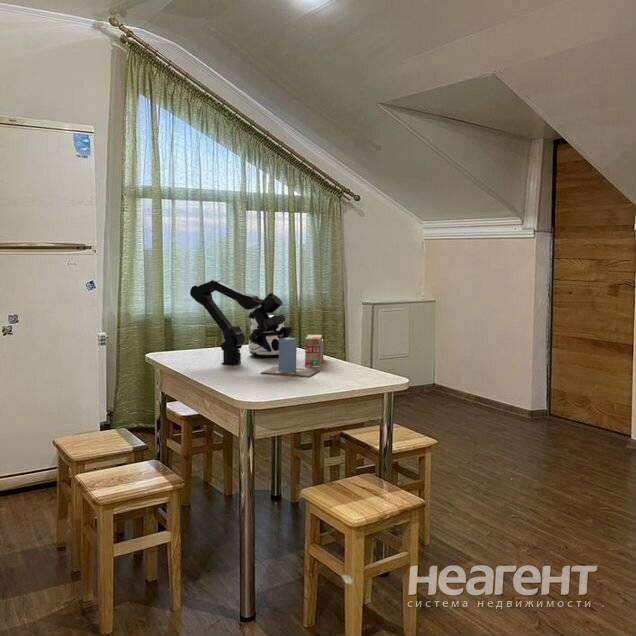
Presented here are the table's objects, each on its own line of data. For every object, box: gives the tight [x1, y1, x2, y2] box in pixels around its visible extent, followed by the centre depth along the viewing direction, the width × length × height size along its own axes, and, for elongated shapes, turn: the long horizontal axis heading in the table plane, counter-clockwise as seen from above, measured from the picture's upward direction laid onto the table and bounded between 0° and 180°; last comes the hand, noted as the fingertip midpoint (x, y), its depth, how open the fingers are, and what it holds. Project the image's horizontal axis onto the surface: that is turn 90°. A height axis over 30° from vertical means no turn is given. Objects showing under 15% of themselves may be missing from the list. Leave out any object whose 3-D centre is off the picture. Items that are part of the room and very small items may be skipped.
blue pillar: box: [278, 337, 298, 373], centre depth 257 cm, size 5×5×13 cm
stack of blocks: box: [304, 334, 324, 368], centre depth 282 cm, size 21×6×12 cm, turn 175°
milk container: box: [248, 314, 286, 358], centre depth 298 cm, size 17×17×18 cm
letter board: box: [260, 366, 321, 378], centre depth 258 cm, size 20×14×1 cm
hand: (280, 350), depth 260 cm, fingers open, 9 cm apart
